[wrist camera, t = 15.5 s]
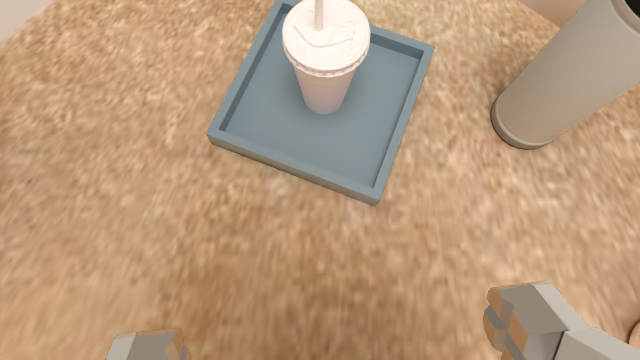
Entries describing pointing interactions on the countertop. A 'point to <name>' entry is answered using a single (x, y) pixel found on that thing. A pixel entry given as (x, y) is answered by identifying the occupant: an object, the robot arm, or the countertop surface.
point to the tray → (323, 130)
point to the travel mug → (572, 74)
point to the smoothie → (325, 49)
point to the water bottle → (635, 337)
